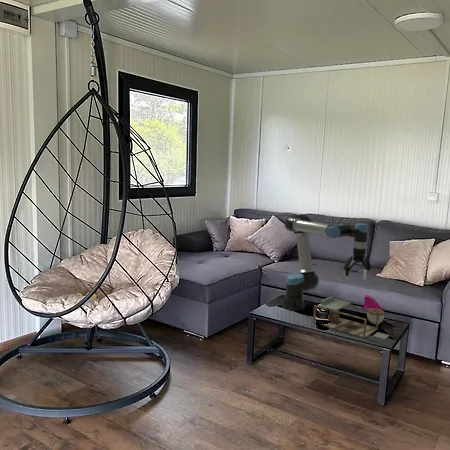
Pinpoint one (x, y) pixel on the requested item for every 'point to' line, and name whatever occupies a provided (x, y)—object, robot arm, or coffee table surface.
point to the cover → (333, 303)
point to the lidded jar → (375, 315)
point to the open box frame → (351, 324)
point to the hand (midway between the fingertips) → (356, 280)
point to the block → (333, 316)
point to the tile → (381, 335)
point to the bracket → (371, 303)
